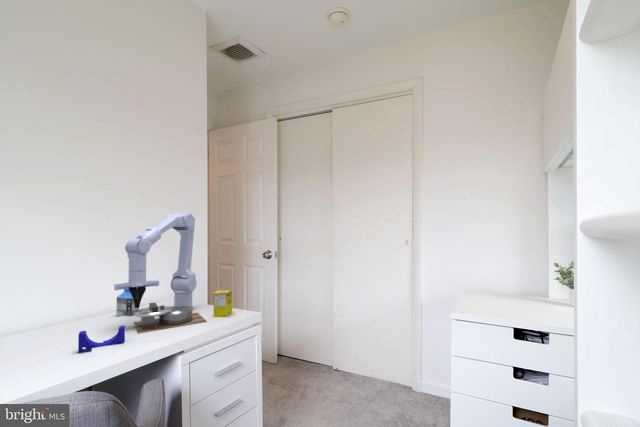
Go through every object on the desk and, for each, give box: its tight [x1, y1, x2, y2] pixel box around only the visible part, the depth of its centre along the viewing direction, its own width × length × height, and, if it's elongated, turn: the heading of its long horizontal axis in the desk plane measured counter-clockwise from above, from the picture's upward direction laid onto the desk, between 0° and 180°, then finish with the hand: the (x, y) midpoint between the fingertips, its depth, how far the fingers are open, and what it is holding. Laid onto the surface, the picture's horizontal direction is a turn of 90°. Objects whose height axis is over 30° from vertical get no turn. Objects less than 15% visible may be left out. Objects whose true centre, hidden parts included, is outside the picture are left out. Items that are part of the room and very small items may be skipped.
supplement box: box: [213, 289, 233, 318], centre depth 138 cm, size 6×6×11 cm
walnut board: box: [133, 312, 208, 335], centre depth 128 cm, size 16×24×1 cm, turn 124°
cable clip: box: [77, 325, 126, 354], centre depth 105 cm, size 12×4×6 cm, turn 118°
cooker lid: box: [134, 302, 172, 318], centre depth 125 cm, size 13×13×3 cm
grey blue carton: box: [116, 289, 140, 318], centre depth 140 cm, size 9×4×12 cm, turn 71°
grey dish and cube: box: [140, 305, 193, 328], centre depth 127 cm, size 12×18×4 cm, turn 124°
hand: (137, 307), depth 122 cm, fingers closed
